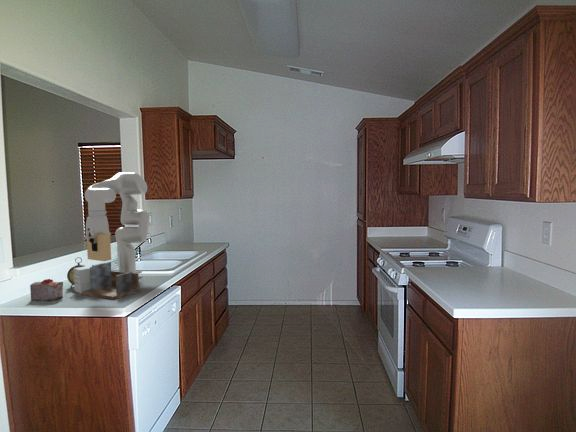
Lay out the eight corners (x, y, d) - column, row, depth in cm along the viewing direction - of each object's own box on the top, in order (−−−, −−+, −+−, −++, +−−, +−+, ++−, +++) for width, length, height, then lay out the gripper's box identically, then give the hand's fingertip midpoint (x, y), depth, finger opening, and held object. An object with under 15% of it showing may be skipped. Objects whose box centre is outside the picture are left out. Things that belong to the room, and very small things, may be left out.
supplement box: (89, 288, 198) (88, 265, 198) (95, 290, 194) (94, 267, 193) (74, 291, 193) (73, 267, 192) (80, 294, 188) (79, 269, 187)
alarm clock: (67, 288, 199) (66, 258, 198) (70, 285, 205) (69, 257, 204) (89, 286, 203) (88, 257, 201) (91, 284, 208) (90, 256, 207)
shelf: (109, 287, 201) (108, 261, 200) (138, 291, 192) (138, 264, 191) (82, 294, 187) (81, 266, 186) (113, 299, 178) (112, 270, 177)
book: (94, 257, 187) (93, 232, 186) (111, 259, 182) (110, 234, 181) (87, 259, 184) (86, 233, 182) (104, 261, 179) (102, 235, 177)
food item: (66, 296, 184) (65, 277, 183) (57, 301, 176) (56, 281, 175) (38, 296, 183) (37, 277, 183) (28, 301, 175) (26, 281, 175)
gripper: (106, 212, 190) (108, 247, 192) (76, 215, 175) (78, 252, 177) (116, 212, 187) (118, 248, 188) (86, 215, 172) (88, 253, 173)
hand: (99, 249), depth 182 cm, fingers closed on book, 4 cm apart
